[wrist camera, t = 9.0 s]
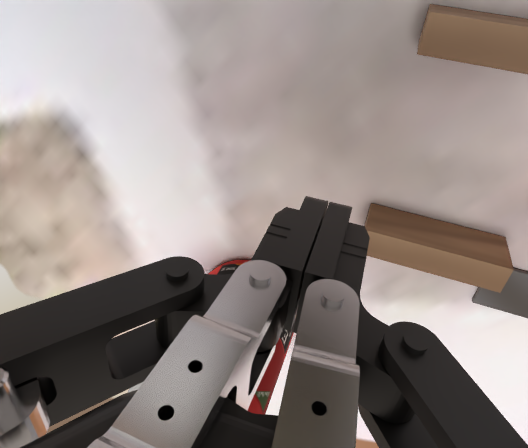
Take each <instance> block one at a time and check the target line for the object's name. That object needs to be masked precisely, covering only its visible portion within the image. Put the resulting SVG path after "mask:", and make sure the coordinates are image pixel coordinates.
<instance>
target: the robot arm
mask: <svg viewBox="0 0 528 448" xmlns="http://www.w3.org/2000/svg"><path fill="white" fill-rule="evenodd" d="M327 206H328V208H327ZM351 210H352V207H350V206H346V205H341V204H337V203H333V202H330V203H329V205H328V201H324V200H320V199H316V198H312V197H308V196H306V197H305V199H304V201H303V203H302V206H301V208H300V210H296V209H292V208H288V207H286V208H284V209H283V210H281V211H280V212H278V213H276V214H275V216H274V218H273V220H272V222H271V224H270V226H269V227H268V229H267V231H266V234H265V235H264V237H263V239H262V241H261V243H260V244H259V246H258V248H257V250H256V252H255V254H254V256H253V258H252V259H251V261H248V262H245V263H243V264H241V265H240V266H239V267H238V268H237V269H236V271H235V272H234V273H232V274H226V275H216V274H204V270H203V267H202V266H201V265H200V264H199V263H198V262H197V261H195V260H193V259H191V258H188V257H180V256H179V257H170V258H166V259H163V260H160V261H157V262H154V263H152V264H149V265H146V266H143V267H140V268H137V269H134V270H131V271H128V272H125V273H122V274H119V275H116V276H113V277H110V278H107V279H104V280H101V281H98V282H95V283H92V284H89V285H86V286H83V287H80V288H78V289H75V290H72V291H69V292H66V293H63V294H60V295H57V296H54V297H51V298H48V299H45V300H42V301H39V302H36V303H33V304H30V305H27V306H25V307H21V308H19V309H16V310H12V311H10V312H7V313H4V314H1V315H0V448H355V447H356V430H357V413H358V407H359V412H360V414H361V417H362V419H363V420H364V422H365V424H366V426H367V427H368V429H369V431H370V433H371V434H372V436H373V438H374V440H375V441H376V443H377V445H378V446H379V448H528V445H527V444H526V443H525V441H524V440H523V439H522V438H521V437H520V435H519V434H518V433H517V432H516V431H515V429H514V428H513V427H512V426H511V425H510V423H509V422H508V421H507V420H506V419H505V418H504V416H503V415H502V414H501V413H500V412H499V410H498V409H497V408H496V407H495V406H494V404H493V403H492V402H491V401H490V400H489V398H488V397H487V396H486V395H485V394H484V392H483V391H482V390H481V389H480V388H479V386H478V385H477V384H476V383H475V382H474V380H473V379H472V378H471V377H470V376H469V375H468V373H467V372H466V371H465V370H464V369H463V367H462V366H461V365H460V364H459V363H458V361H457V360H456V359H455V358H454V357H453V355H452V354H451V353H450V352H449V351H448V349H447V348H446V347H445V346H444V345H443V343H442V342H441V341H440V340H439V339H438V338H437V336H436V335H435V334H433V333H432V332H431V331H430V330H428V329H427V328H425V327H423V326H421V325H418V324H416V323H412V322H397V323H394V324H392V325H390V326H388V325H386V324H384V323H382V322H381V321H379V320H377V319H376V318H374V317H373V316H372V315H371V314H369V313H368V312H367V311H366V309H365V308H364V306H363V305H362V303H361V300H360V289H361V283H362V278H363V272H364V267H365V262H366V256H367V250H368V245H369V240H370V237H369V235H368V232H367V230H366V228H365V226H361V225H357V224H353V223H349V218H350V214H351ZM295 317H296V319H295ZM154 319H155V321H154V322H151V323H149V324H146V325H144V326H141V327H139V328H137V329H134V330H132V331H129V332H127V333H124V334H122V335H120V336H117V337H115V338H113V337H114V336H116V335H118V334H120V333H122V332H125V331H127V330H130V329H132V328H135V327H137V326H140V325H142V324H144V323H147V322H149V321H152V320H154ZM294 320H295V324H294V329H293V332H295V333H297V335H296V339H295V344H294V348H293V352H292V356H291V361H290V365H289V370H288V375H287V379H286V384H285V388H284V393H283V397H282V402H281V406H280V411H279V416H276V415H265V414H255V413H251V412H249V411H248V408H249V405H250V403H251V401H252V399H253V396H254V394H255V392H256V390H257V388H258V386H259V384H260V381H261V379H262V377H263V375H264V373H265V371H266V369H267V366H268V364H269V362H270V360H271V358H272V356H273V354H274V351H275V347H276V344H277V342H278V340H279V338H280V335H281V332H282V329H284V330H288V331H291V329H292V326H293V323H294ZM142 382H143V384H142V385H141V386H140V388H139V389H138V390H135V391H131V392H129V393H126V394H123V395H121V396H119V397H117V398H115V399H113V400H111V401H109V402H107V403H105V404H103V405H101V406H99V407H97V408H95V409H94V410H92V411H90V412H88V413H86V414H84V415H82V416H80V417H78V418H76V419H74V420H72V421H70V422H68V423H66V424H64V425H63V426H61V427H59V428H57V429H55V430H53V431H51V432H49V433H47V431H48V428H49V427H50V426H52V425H54V424H56V423H58V422H60V421H62V420H64V419H66V418H69V417H71V416H73V415H75V414H77V413H79V412H81V411H83V410H85V409H87V408H89V407H91V406H94V405H96V404H98V403H100V402H102V401H104V400H106V399H108V398H110V397H112V396H115V395H117V394H119V393H121V392H123V391H125V390H127V389H129V388H131V387H133V386H135V385H138V384H140V383H142ZM46 433H47V434H46Z"/></svg>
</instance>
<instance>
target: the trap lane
mask: <svg viewBox="0 0 528 448" xmlns="http://www.w3.org/2000/svg"><path fill="white" fill-rule="evenodd" d="M417 54H419V55H424V56H430V57H435V58H441V59H446V60H452V61H457V62H463V63H469V64H474V65H480V66H485V67H491V68H496V69H502V70H508V71H513V72H519V73H524V74H528V19H524V18H518V17H511V16H505V15H498V14H492V13H485V12H479V11H473V10H466V9H460V8H453V7H447V6H440V5H434V4H430V5H429V9H428V12H427V16H426V19H425V22H424V26H423V29H422V33H421V36H420V39H419V44H418V51H417ZM365 228H366V230H367V232H368V235H369V237H370V240H369V245H368V250H367V256H370V257H374V258H377V259H381V260H384V261H388V262H392V263H395V264H399V265H402V266H406V267H409V268H413V269H417V270H420V271H424V272H427V273H431V274H434V275H438V276H442V277H445V278H449V279H452V280H456V281H459V282H463V283H467V284H470V285H474V286H477V287H478V289H477V291H476V293H475V295H474V297H473V299H472V302H473V303H477V304H480V305H484V306H487V307H491V308H494V309H498V310H501V311H505V312H508V313H512V314H515V315H519V316H522V317H525V318H528V271H524V270H520V269H516V268H513V265H512V261H511V257H510V253H509V249H508V245H507V241H506V237H503V236H499V235H495V234H491V233H487V232H483V231H479V230H475V229H471V228H467V227H463V226H459V225H455V224H451V223H448V222H444V221H440V220H436V219H432V218H428V217H424V216H420V215H416V214H412V213H408V212H404V211H400V210H396V209H393V208H389V207H385V206H381V205H377V204H373V203H371V205H370V209H369V212H368V215H367V219H366V222H365Z"/></svg>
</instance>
